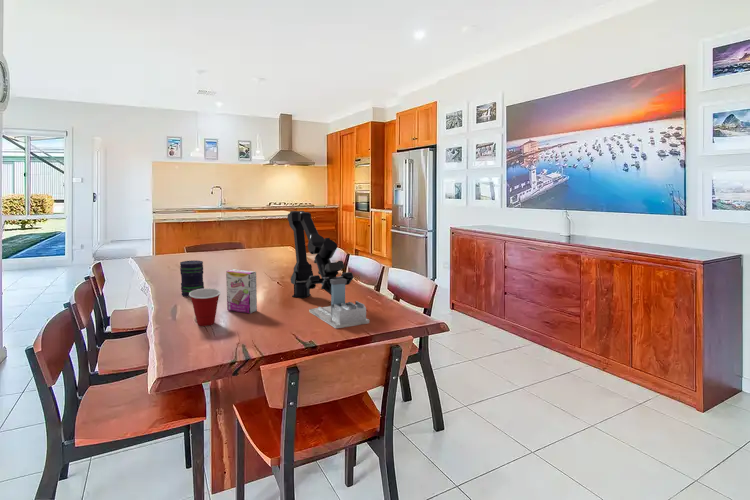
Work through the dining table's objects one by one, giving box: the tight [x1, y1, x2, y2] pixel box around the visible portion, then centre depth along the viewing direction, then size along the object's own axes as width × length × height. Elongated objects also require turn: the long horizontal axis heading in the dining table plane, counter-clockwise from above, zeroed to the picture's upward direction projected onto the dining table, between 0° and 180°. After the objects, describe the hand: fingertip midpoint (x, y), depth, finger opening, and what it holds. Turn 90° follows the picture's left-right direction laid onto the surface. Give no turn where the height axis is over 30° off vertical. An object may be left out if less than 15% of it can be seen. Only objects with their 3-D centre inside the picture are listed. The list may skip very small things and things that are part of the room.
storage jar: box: [179, 260, 205, 298], centre depth 201 cm, size 10×10×15 cm
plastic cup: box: [189, 287, 222, 327], centre depth 158 cm, size 11×11×12 cm
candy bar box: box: [225, 268, 258, 314], centre depth 175 cm, size 11×5×16 cm, turn 71°
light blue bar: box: [330, 278, 347, 306], centre depth 167 cm, size 8×6×14 cm
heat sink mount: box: [308, 300, 370, 329], centre depth 169 cm, size 24×14×7 cm, turn 32°
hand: (336, 298), depth 170 cm, fingers closed, pressing on light blue bar
